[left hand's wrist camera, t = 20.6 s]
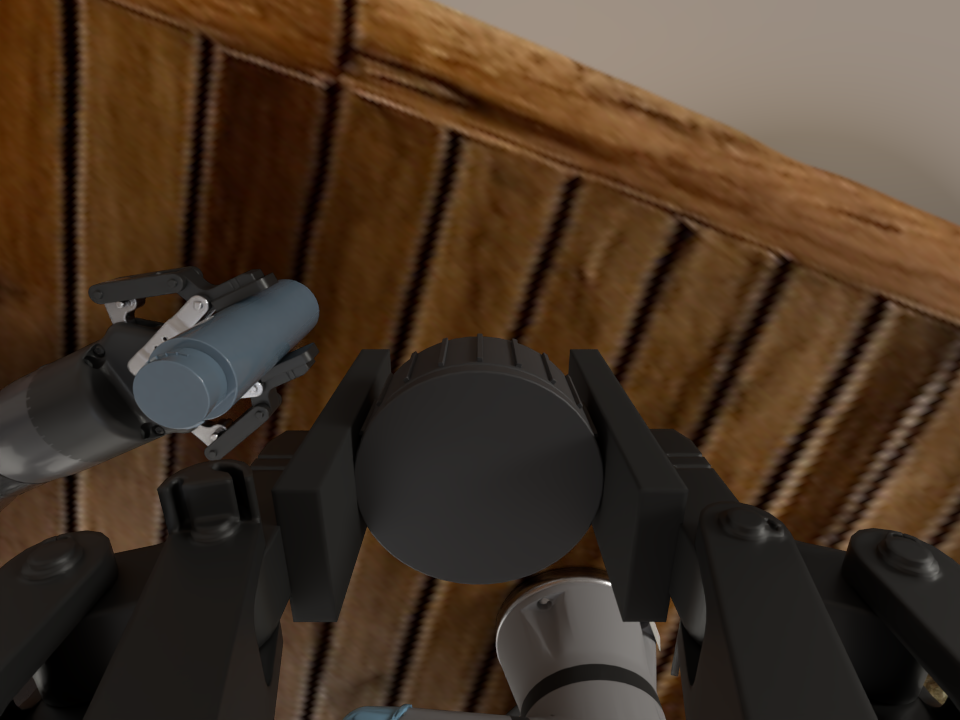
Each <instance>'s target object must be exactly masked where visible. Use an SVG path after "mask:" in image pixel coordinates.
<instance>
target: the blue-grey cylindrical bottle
mask: <svg viewBox="0 0 960 720" xmlns="http://www.w3.org/2000/svg"><path fill="white" fill-rule="evenodd" d="M318 317H319V307H318V303H317V300H316V298H315V296H314V295H313V293H312V292H311V291H310V290H309V289H308V288H307V287H306V286H304V285H303V284H301V283H299V282H297V281H294V280H288V279H282V280H278V283H276V284H274V285H272V286H271V287H269V288H267V289H265V290H263V291H261V292H259V293H256V294H254V295H252V296H250V297H248V298H246V299H244V300H242V301H239V302H237V303H235V304H233V305H231V306H228V307H227V308H225V309H223V310H221V311H219V312H218V313H216V314H214V315H212V316H210V317H208V318H207V319H205V320H203V321H201V322H199V323H198V324H196V325H194V326H192V327H190V328H188V329H187V330H185V331H183V332H181V333H179V334H178V335H176V336H174V337H172V338H170V339H168V340H167V341H165V342H163V343H161V344H160V345H159V346H157V347H156V348H155V349H154V350H153V352H152V353H151V355H150V357H149V359H148V361H147V362H146V363H145V365H144V366H143V367H142V368H141V369H140V370H139V371H138V372H137V374H136V376H135V378H134V381H133V394H134V398H135V401H136V403H137V405H138V406H139V408H140V409H141V411H142V412H143V413H144V414H145V415H146V416H147V417H148V418H150V419H151V420H152V421H154V422H155V423H157V424H159V425H162V426H164V427H168V428H173V429H187V430H188V429H191V428H194V427H195V428H196V427H198V426H199V425H201V424H202V423H204V422H205V421H204V420H209V419H213V418H216V417H219V416H221V415H223V414H224V413H226V412H227V411H228V410H229V409H230V408H231V407H232V406H233V405H234V404H235V403H236V402H237V401H238V400H239V399H240V398H241V397H242V396H244V395H245V394H246V393H247V392H248V391H249V390H250V389H251V388H252V387H253V386H254V385H255V384H256V383H257V382H258V381H259V380H260V379H261V378H262V377H263V376H264V375H265V374H266V373H267V372H268V371H270V370H271V369H272V368H273V367H274V366H275V365H276V364H277V363H278V362H279V361H280V360H281V359H282V358H283V357H284V356H285V355H286V354H287V353H288V352H289V351H290V350H291V349H292V348H293V347H294V346H295V345H297V344H298V343H299V342H300V341H301V340H302V339H303V338H304V337H305V336H306V335H307V334H308V333H309V332H310V331H311V330H312V329H313V328H314V327H315V325H316V323H317V321H318Z"/></svg>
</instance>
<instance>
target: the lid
mask: <svg viewBox="0 0 960 720" xmlns="http://www.w3.org/2000/svg"><path fill="white" fill-rule="evenodd" d="M359 435H362V438H361V441H360V443H359V446H358V449H357V452H356V456H355V462H354V476H355V486H356V496H357V504H358V508H359V511H360V513H361V515H362V517H363V520H364V522H365V523H366V525H367V527H368V528H369V530H370V531H371V533H372V534H373V536H374V537H375V538H376V539H377V540H378V542H379V543H380V544H381V545H382V546H383V547H384V548H385V549H386V550H387V551H388V552H389V553H391V554H392V555H393V556H394V557H396V558H397V559H399V560H400V561H401V562H403V563H404V564H406V565H408V566H410V567H411V568H413V569H415V570H417V571H419V572H422V573H424V574H426V575H429V576H432V577H435V578H438V579H441V580H445V581H451V582H456V583H464V584H493V583H502V582H507V581H511V580H516V579H520V578H522V577H525V576H528V575H531V574H534V573H536V572H538V571H540V570H542V569H544V568H546V567H548V566H550V565H551V564H553V563H554V562H556V561H558V560H559V559H560V558H562V557H563V556H564V555H565V554H567V553H568V552H569V551H570V550H571V549H572V548H573V547H574V546H575V545H576V544H577V543H578V542H579V541H580V540H581V538H582V537H583V536H584V534H585V533H586V532H587V531H588V529H589V527H590V525H591V524H592V522H593V520H594V518H595V516H596V513H597V511H598V508H599V506H600V502H601V498H602V493H603V485H604V469H603V461H602V456H601V452H600V448H599V446H598V443H597V441H596V438H597V437H599V436H598V433H597V431H596V428H595V426H594V424H593V422H592V419H591V417H590V415H589V413H588V410H587V408H586V406H585V404H584V401H582V402H581V400H580V398H579V396H578V393H577V391H576V389H575V387H574V384H573V382H572V380H571V377H570V376H569V375H566V376H565V375H564V374H563V373H562V372H561V371H560V370H559V369H558V368H557V367H556V366H555V365H554V364H553V363H552V362H551V361H549V358H548V356H547V354H545V353H543V354H542V355H541V354H540V353H538V352H536V351H534V350H532V349H530V348H528V347H526V346H524V345H521V344H518V343H517V340H516V339H512V341H509V340H504V339H500V338H492V337H482V334H477V337H465V338H458V339H453V340H449V341H448V338H445V339H443V341H442V343H439V344H436V345H434V346H432V347H429V348H427V349H425V350H423V351H422V352H420V353H417V352H416V351H415V352H414V353H412V355H411V358H410V360H408V361H407V362H406V363H404V364H403V365H402V366H401V367H400V368H399V369H398V370H397V371H396V372H395V373H394V374H392V373H390V374H389V375H388V377H387V380H386V382H385V384H384V386H383V389H382V391H381V393H380V395H379V398H378V400H376V399H375V400H374V402H373V404H372V406H371V409H370V411H369V413H368V415H367V417H366V420H365V422H364V424H363V426H362V428H361V431H360V433H359Z"/></svg>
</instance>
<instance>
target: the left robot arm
mask: <svg viewBox="0 0 960 720" xmlns="http://www.w3.org/2000/svg"><path fill="white" fill-rule="evenodd" d="M390 373H391V364H390V349H362V350H361V352H360V354H359V355H358V357H357V358H356V360H355V361H354V363H353V364H352V366H351V367H350V369H349V371H348V372H347V374H346V375H345V377H344V378H343V380H342V381H341V383H340V384H339V386H338V387H337V389H336V391H335V392H334V394H333V395H332V397H331V398H330V400H329V401H328V403H327V404H326V406H325V407H324V409H323V411H322V412H321V414H320V415H319V417H318V418H317V420H316V421H315V423H314V424H313V426H312V428H311V429H310V431H285V432H284V433H282V434H281V435H279V436H278V437H276V438H274V439H273V440H271V441H270V442H268V444H267V445H266V446H265V448H264V449H263V450H262V451H261V453H260V454H259V455H258V459H255V461H254V462H253V463H252V464H251V466H248V465H247V464H246V463H245V462H241V461H236V460H232V459H228V460H212V461H208V462H203V463H198V464H195V465H193V466H190V467H188V468H185V469H182V470H180V471H178V472H177V473H175V474H173V475H172V476H170V477H169V478H167V479H166V480H165V481H164V482H163V483H162V484H161V485H160V486H159V487H158V488H157V491H158V494H159V498H160V502H161V506H162V510H163V513H164V517H165V521H166V525H167V528H168V532H169V535H168V538H167V540H166V542H164V543H160V544H157V545H153V546H148V547H143V548H138V549H133V550H129V551H124V552H119V553H113V550H112V546H111V543H110V540H109V538H108V537H106V536H105V535H104V534H103V533H101V532H94V531H79V532H71V533H65V534H61V535H59V536H54V537H51V538H48V539H46V540H44V541H42V542H40V543H38V544H36V545H34V546H32V547H30V548H28V549H26V550H24V551H23V552H21V553H20V554H18V555H17V556H16V557H14V558H13V559H11V560H10V561H8V562H7V563H6V564H5V565H4V566H2V567H1V568H0V720H274V715H275V707H276V698H277V690H278V682H279V673H280V665H281V656H282V648H283V637H282V630H281V625H280V618H281V616H282V614H283V611H284V609H285V607H286V605H287V602H288V600H289V598H290V604H291V610H292V615H293V621H294V622H337V620H338V617H339V614H340V611H341V607H342V604H343V601H344V598H345V595H346V592H347V588H348V585H349V582H350V579H351V576H352V572H353V569H354V566H355V563H356V560H357V557H358V553H359V550H360V547H361V544H362V541H363V538H364V534H365V531H366V528H367V525H366V523H365V522H364V520H363V517H362V515H361V513H360V511H359V508H358V504H357V496H356V486H355V476H354V462H355V456H356V452H357V449H358V446H359V443H360V441H361V438H362V435H359V433H360V431H361V428H362V426H363V424H364V422H365V420H366V417H367V415H368V413H369V411H370V409H371V406H372V404H373V402H374V400H375V399H376V400H378V398H379V395H380V393H381V391H382V389H383V386H384V384H385V382H386V380H387V377H388V375H389V374H390ZM568 375H569V376H570V377H571V380H572V382H573V384H574V387H575V389H576V391H577V393H578V396H579V398H580V400H581V402H582V401H584V404H585V406H586V408H587V410H588V413H589V415H590V417H591V419H592V422H593V424H594V426H595V428H596V431H597V433H598V436H599V437H597V438H596V441H597V443H598V446H599V448H600V452H601V456H602V461H603V469H604V485H603V493H602V498H601V502H600V506H599V508H598V511H597V513H596V516H595V518H594V520H593V522H592V526H593V529H594V532H595V535H596V539H597V542H598V545H599V548H600V551H601V554H602V558H603V561H604V564H605V567H606V570H607V571H603V570H599V569H594V568H586V567H570V568H561V569H556V570H552V571H548V572H545V573H542V574H540V575H537V576H535V577H533V578H531V579H529V580H528V581H526V582H524V583H523V584H521V585H520V586H519V587H517V588H516V589H515V590H514V591H513V592H512V593H511V594H510V595H509V596H508V597H507V599H506V600H505V601H504V603H503V605H502V606H501V608H500V610H499V613H498V616H497V620H496V650H497V655H498V659H499V661H500V664H501V666H502V668H503V671H504V673H505V676H506V678H507V681H508V683H509V686H510V688H511V691H512V693H513V696H514V698H515V701H516V703H517V705H516V706H515V707H514V708H513V709H511V710H510V711H509V712H508V713H507V714H506V715H494V714H482V713H470V712H458V711H446V710H434V709H422V708H412V705H410V704H404V705H402V706H401V707H382V706H364V707H360V708H357V709H355V710H353V711H352V712H350V713H349V714H348V715H347V716H346V717H345V718H344V719H343V720H666V718H665V716H664V713H663V710H662V707H661V704H660V701H659V698H658V695H657V692H656V641H657V644H658V647H659V650H660V636H659V633H658V630H657V628H656V625H655V622H666V619H667V614H668V608H669V602H670V596H671V598H672V601H673V603H674V605H675V607H676V610H677V612H678V614H679V616H680V625H679V630H678V636H677V641H676V646H675V652H674V657H673V663H672V670H671V675H674V676H678V672H679V667H680V672H681V680H682V689H683V697H684V705H685V714H686V720H960V565H959V564H958V563H956V562H955V561H954V560H953V559H952V558H950V557H949V556H947V555H946V554H944V553H943V552H941V551H940V550H938V549H937V548H935V547H934V546H932V545H930V544H927V543H925V542H923V541H921V540H919V539H917V538H916V537H913V536H911V535H908V534H905V533H904V534H902V533H901V532H897V531H892V530H884V529H876V528H871V529H864V530H859V531H857V532H856V533H855V534H854V535H852V536H851V539H850V542H849V545H848V548H847V551H842V550H837V549H833V548H828V547H823V546H818V545H813V544H808V543H804V542H800V541H797V540H794V539H793V537H792V535H791V533H790V532H789V530H788V529H787V528H786V526H785V525H784V524H783V523H782V522H781V521H780V520H778V519H777V518H775V517H774V516H773V515H771V514H770V513H768V512H766V511H763V510H761V509H759V508H757V507H754V506H752V505H748V504H743V503H739V501H738V500H737V499H736V497H735V496H734V495H733V494H732V492H731V491H730V490H729V488H728V487H727V486H726V484H725V483H724V482H723V481H722V479H721V478H720V477H719V475H718V474H717V473H716V472H715V470H714V469H713V468H711V465H710V464H709V463H708V461H707V460H706V459H705V457H702V454H701V452H700V451H699V450H698V448H697V447H696V446H695V445H694V443H693V442H692V441H691V440H690V439H688V438H687V437H685V436H683V435H682V434H680V433H679V432H677V431H676V430H674V429H649V428H648V427H647V425H646V423H645V422H644V420H643V419H642V417H641V416H640V414H639V413H638V411H637V410H636V408H635V406H634V405H633V403H632V402H631V400H630V399H629V397H628V396H627V394H626V393H625V391H624V390H623V388H622V386H621V385H620V383H619V382H618V380H617V379H616V377H615V376H614V374H613V373H612V371H611V370H610V368H609V366H608V365H607V363H606V362H605V360H604V359H603V357H602V356H601V354H600V353H599V351H598V349H570V359H569V374H568ZM928 674H929V675H930V676H931V678H932V679H933V680H934V681H935V682H936V683H937V684H938V686H939V687H940V688H941V689H942V690H943V691H944V692H945V694H946V695H947V696H948V697H947V699H946V701H945V703H944V704H943V705H942V704H940V703H939V702H938V701H937V700H936V699H935V698H934V697H933V696H932V695H931V694H930V693H929V691H928V690H927V689H926V688H925V687H924V685H923V684H924V682H925V680H926V677H927V675H928ZM32 676H33V679H34V681H35V683H36V686H37V688H36V689H35V690H34V692H33V693H32V694H31V695H30V696H29V698H28V699H26V700H25V701H24V702H23V703H22V704H21V705H20V706H17V705H16V704H15V702H14V700H13V698H14V697H15V696H16V695H17V694H18V693H19V691H20V690H21V689H22V688H23V687H24V686H25V684H26V683H27V682H28V681H29V680H30V679H31V678H32ZM519 716H520V717H519Z"/></svg>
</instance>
